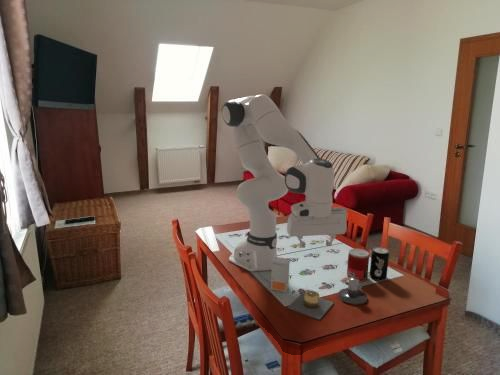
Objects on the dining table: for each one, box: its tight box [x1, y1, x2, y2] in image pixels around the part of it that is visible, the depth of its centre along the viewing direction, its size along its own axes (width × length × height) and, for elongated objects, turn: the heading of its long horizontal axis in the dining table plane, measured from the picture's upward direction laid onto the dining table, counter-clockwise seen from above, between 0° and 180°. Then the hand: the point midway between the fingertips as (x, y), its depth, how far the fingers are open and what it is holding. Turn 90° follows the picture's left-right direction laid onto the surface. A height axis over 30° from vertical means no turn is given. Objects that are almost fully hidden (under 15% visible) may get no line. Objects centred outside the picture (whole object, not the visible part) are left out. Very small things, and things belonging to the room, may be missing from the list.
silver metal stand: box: [338, 277, 368, 306], centre depth 135 cm, size 10×10×8 cm
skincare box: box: [270, 256, 291, 293], centre depth 140 cm, size 6×4×12 cm
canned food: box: [346, 248, 370, 282], centre depth 149 cm, size 8×8×11 cm
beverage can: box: [369, 246, 390, 281], centre depth 149 cm, size 7×7×12 cm
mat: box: [287, 291, 335, 321], centre depth 130 cm, size 12×12×1 cm
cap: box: [304, 290, 320, 309], centre depth 129 cm, size 5×5×4 cm
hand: (315, 246), depth 127 cm, fingers open, 8 cm apart
